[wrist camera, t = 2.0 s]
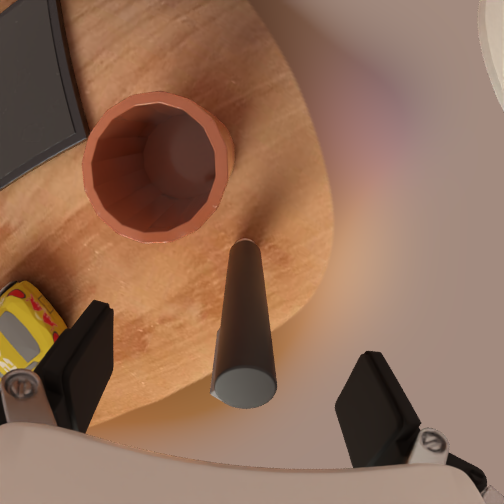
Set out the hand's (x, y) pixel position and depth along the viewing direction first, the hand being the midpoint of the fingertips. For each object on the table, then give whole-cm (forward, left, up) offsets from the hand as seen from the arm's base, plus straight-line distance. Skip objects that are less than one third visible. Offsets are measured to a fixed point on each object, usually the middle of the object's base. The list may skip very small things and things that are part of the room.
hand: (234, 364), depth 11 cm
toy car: (+21, -10, -12) cm, 26 cm away
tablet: (+7, -25, -12) cm, 28 cm away
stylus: (0, 0, -11) cm, 11 cm away
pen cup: (-2, -7, -12) cm, 14 cm away
